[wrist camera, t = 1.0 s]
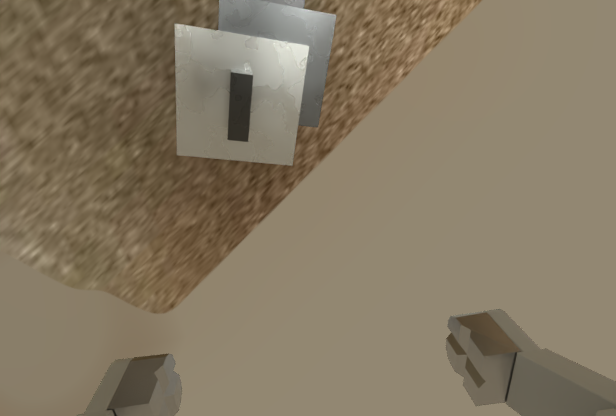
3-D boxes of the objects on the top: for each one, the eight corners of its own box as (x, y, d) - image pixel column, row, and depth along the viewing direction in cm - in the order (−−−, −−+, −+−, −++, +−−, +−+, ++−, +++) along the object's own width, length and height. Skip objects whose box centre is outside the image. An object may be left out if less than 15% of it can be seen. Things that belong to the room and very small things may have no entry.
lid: (177, 23, 26) (167, 22, 22) (307, 45, 28) (314, 47, 25) (178, 151, 30) (171, 165, 27) (291, 161, 32) (295, 175, 29)
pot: (226, -24, 31) (220, -40, 24) (321, -5, 33) (341, -15, 26) (220, 118, 37) (214, 138, 30) (302, 127, 39) (314, 148, 32)
